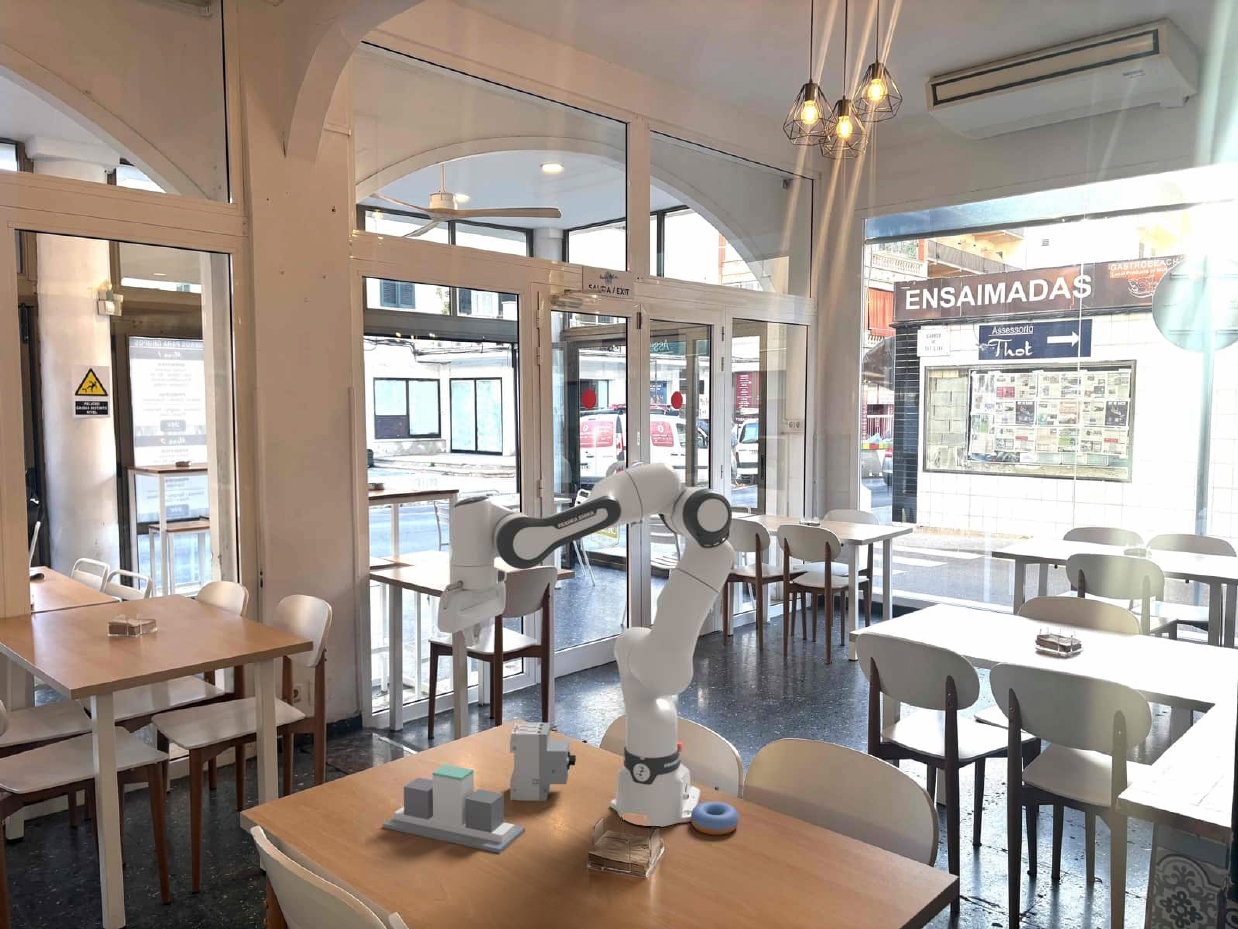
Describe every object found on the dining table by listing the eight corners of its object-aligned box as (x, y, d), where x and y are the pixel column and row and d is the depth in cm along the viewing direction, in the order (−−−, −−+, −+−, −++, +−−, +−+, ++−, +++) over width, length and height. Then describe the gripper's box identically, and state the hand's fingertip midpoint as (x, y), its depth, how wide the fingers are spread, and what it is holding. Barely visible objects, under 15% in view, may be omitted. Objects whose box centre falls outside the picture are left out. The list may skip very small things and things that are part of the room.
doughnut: (733, 840, 179) (733, 816, 179) (685, 834, 182) (685, 812, 183) (743, 823, 188) (742, 801, 189) (697, 819, 192) (697, 797, 192)
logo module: (445, 811, 187) (444, 764, 187) (473, 817, 184) (473, 769, 184) (433, 820, 183) (432, 772, 182) (462, 826, 180) (461, 778, 180)
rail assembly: (411, 808, 194) (411, 770, 193) (524, 831, 183) (524, 792, 183) (382, 827, 185) (382, 788, 184) (500, 853, 174) (499, 811, 173)
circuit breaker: (574, 801, 198) (574, 734, 197) (510, 800, 198) (509, 734, 197) (576, 787, 205) (576, 723, 204) (514, 786, 205) (514, 722, 205)
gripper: (457, 587, 168) (457, 659, 169) (510, 570, 187) (511, 635, 188) (429, 585, 171) (429, 656, 171) (484, 568, 190) (485, 632, 190)
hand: (472, 645), depth 180 cm, fingers closed
